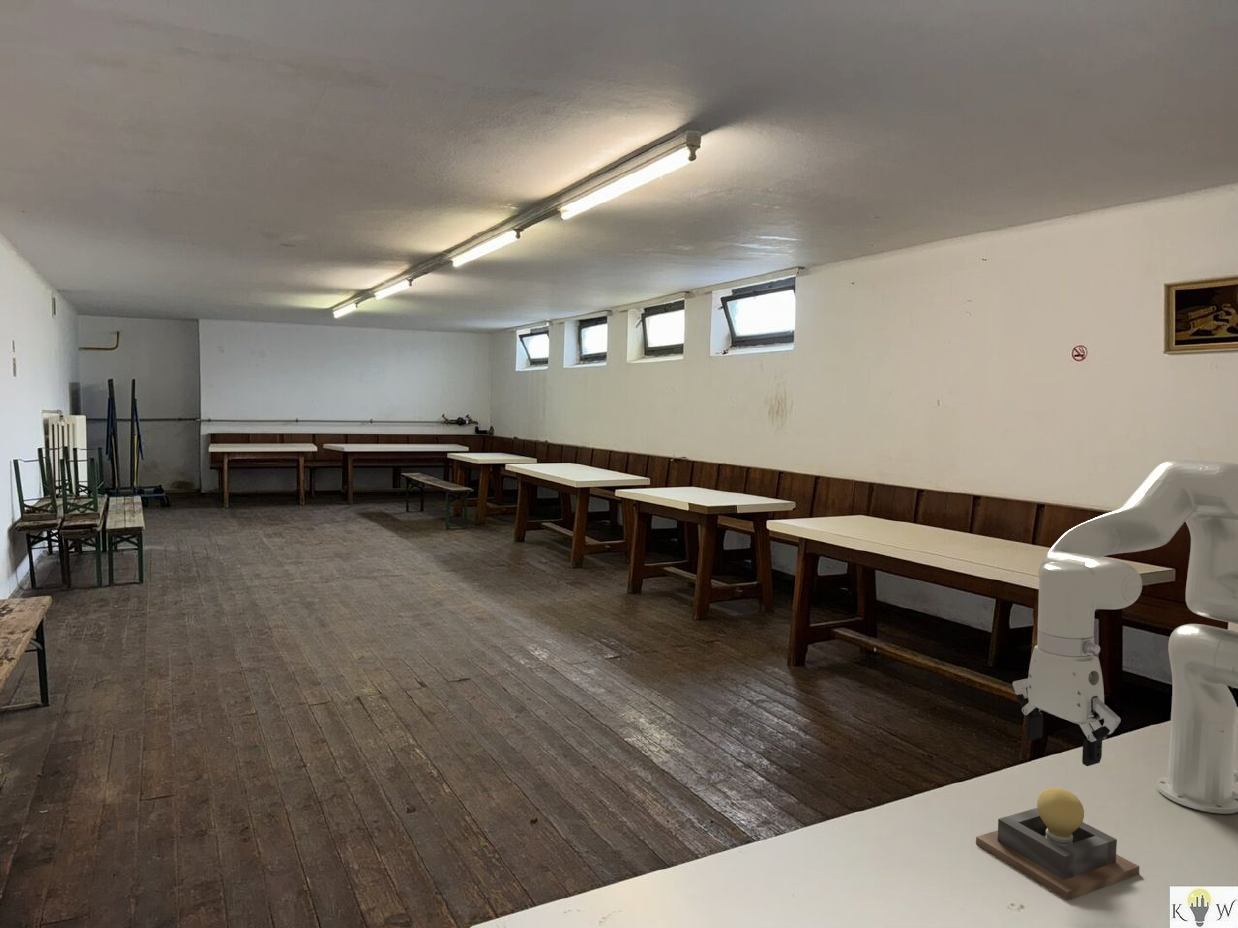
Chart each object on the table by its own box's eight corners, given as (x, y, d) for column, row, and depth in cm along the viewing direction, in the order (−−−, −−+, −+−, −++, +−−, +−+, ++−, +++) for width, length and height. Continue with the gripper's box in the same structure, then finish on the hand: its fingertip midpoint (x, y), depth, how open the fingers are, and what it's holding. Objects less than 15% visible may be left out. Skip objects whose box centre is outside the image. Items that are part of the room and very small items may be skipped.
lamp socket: (1044, 822, 134) (1045, 795, 134) (1139, 873, 120) (1140, 843, 119) (975, 843, 128) (977, 815, 127) (1067, 899, 113) (1068, 867, 113)
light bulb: (1088, 865, 120) (1091, 801, 119) (1043, 860, 121) (1045, 797, 120) (1073, 842, 126) (1075, 782, 125) (1029, 838, 127) (1032, 778, 126)
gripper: (1137, 656, 115) (1132, 769, 116) (1032, 625, 131) (1029, 725, 132) (1103, 663, 112) (1098, 779, 113) (999, 631, 128) (997, 734, 129)
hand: (1061, 750), depth 123 cm, fingers open, 9 cm apart
